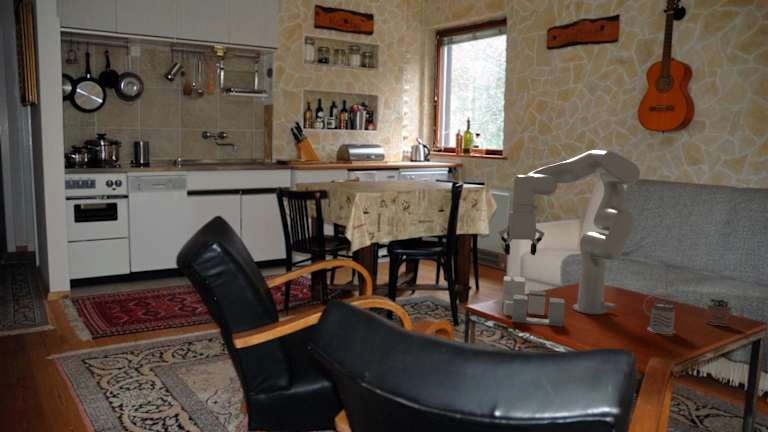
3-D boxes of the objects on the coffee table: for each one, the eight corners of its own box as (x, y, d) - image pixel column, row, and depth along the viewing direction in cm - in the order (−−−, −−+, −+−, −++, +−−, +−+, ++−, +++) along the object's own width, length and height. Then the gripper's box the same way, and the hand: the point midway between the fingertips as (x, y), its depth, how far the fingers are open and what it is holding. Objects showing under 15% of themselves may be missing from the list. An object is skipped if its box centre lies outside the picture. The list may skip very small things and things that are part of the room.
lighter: (728, 325, 243) (731, 299, 242) (730, 327, 240) (733, 301, 239) (704, 322, 246) (707, 296, 245) (706, 324, 243) (709, 298, 241)
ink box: (523, 311, 251) (525, 277, 250) (501, 309, 253) (503, 275, 251) (523, 305, 260) (525, 273, 258) (502, 303, 261) (504, 271, 260)
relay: (513, 313, 248) (514, 300, 247) (516, 316, 244) (516, 303, 243) (503, 312, 248) (504, 300, 247) (505, 315, 244) (506, 302, 243)
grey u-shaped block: (561, 322, 237) (563, 298, 236) (562, 327, 231) (564, 303, 230) (512, 317, 241) (513, 294, 240) (511, 322, 235) (513, 298, 234)
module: (543, 311, 252) (545, 291, 251) (544, 315, 247) (545, 294, 246) (528, 309, 253) (529, 290, 252) (528, 313, 248) (529, 293, 247)
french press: (674, 337, 225) (681, 267, 222) (639, 330, 231) (645, 262, 228) (678, 330, 233) (684, 262, 230) (644, 324, 239) (650, 258, 236)
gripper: (542, 208, 241) (539, 253, 243) (497, 207, 239) (494, 252, 241) (549, 210, 233) (546, 256, 236) (503, 209, 231) (500, 256, 234)
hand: (520, 254), depth 238 cm, fingers open, 9 cm apart
